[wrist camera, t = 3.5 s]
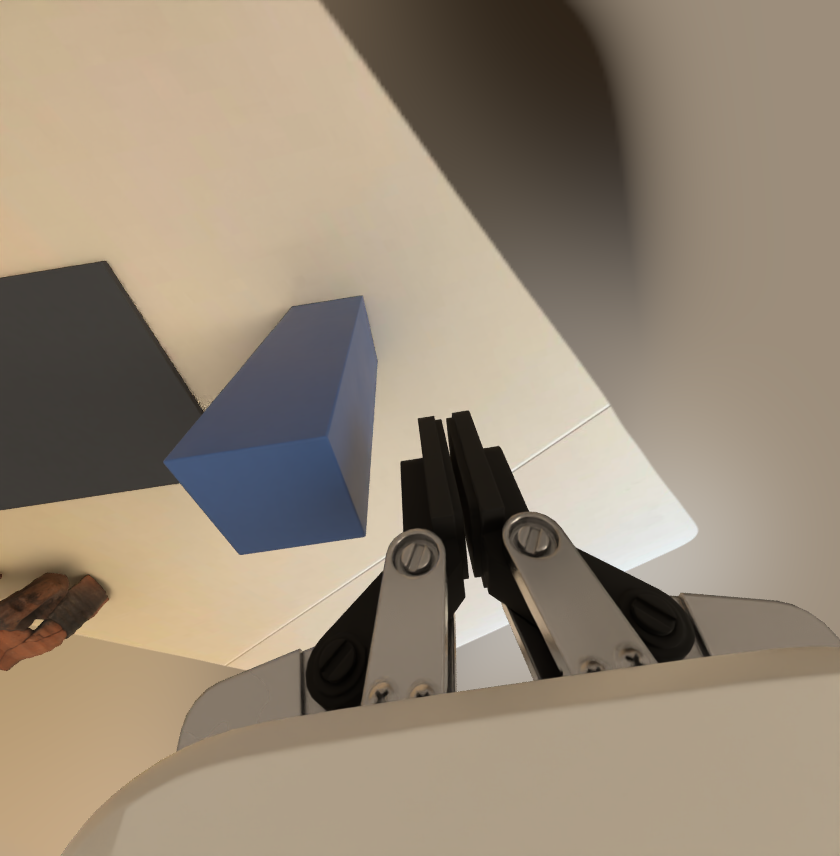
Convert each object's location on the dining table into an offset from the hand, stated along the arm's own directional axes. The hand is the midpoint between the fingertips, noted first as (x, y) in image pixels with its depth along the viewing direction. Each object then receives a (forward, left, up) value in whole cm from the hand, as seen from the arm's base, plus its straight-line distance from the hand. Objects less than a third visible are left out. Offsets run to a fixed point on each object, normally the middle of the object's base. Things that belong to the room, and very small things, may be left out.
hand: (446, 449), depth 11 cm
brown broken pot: (+21, -41, -13) cm, 48 cm away
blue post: (0, -5, -13) cm, 14 cm away
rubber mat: (+2, -31, -13) cm, 34 cm away
